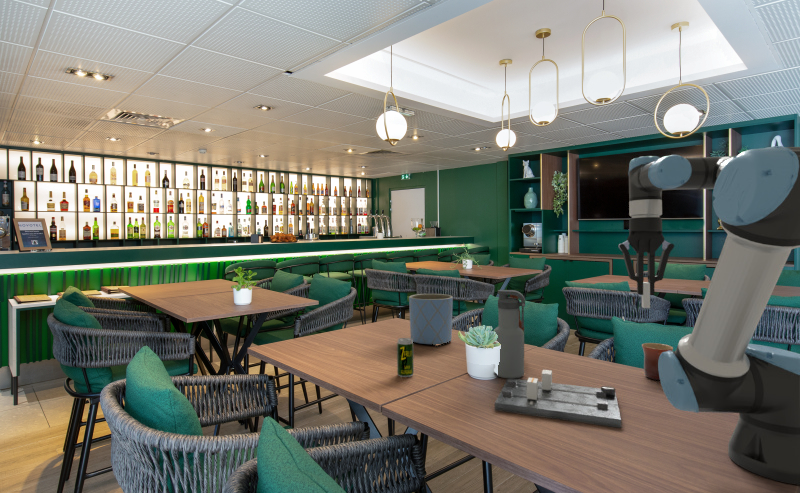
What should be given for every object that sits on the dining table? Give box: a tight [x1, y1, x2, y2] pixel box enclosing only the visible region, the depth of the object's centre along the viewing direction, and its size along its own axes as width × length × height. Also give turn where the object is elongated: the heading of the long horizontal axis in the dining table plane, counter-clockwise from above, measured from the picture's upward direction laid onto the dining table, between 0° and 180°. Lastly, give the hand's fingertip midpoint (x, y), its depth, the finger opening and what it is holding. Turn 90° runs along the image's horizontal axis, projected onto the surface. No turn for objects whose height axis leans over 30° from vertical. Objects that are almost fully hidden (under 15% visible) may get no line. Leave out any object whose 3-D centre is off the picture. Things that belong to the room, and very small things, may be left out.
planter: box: [408, 293, 454, 346], centre depth 194 cm, size 19×19×20 cm
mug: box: [641, 342, 674, 381], centre depth 141 cm, size 12×9×10 cm
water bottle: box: [493, 289, 526, 380], centre depth 147 cm, size 10×10×28 cm
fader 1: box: [527, 377, 539, 400], centre depth 120 cm, size 4×2×5 cm, turn 158°
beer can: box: [396, 337, 415, 378], centre depth 147 cm, size 5×5×12 cm
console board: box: [494, 378, 622, 429], centre depth 122 cm, size 22×30×4 cm
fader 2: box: [541, 369, 553, 390], centre depth 127 cm, size 4×2×5 cm, turn 158°
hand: (645, 307), depth 116 cm, fingers closed
